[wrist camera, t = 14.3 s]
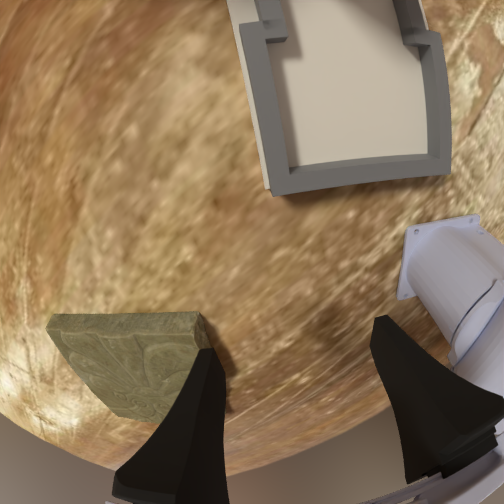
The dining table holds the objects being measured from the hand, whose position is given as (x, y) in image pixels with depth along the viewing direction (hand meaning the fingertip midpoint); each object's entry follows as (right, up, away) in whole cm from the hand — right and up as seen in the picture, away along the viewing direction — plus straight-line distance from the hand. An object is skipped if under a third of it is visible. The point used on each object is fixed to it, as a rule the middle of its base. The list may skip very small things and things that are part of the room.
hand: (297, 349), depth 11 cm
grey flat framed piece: (+4, +19, +1) cm, 20 cm away
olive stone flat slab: (-14, -10, +18) cm, 25 cm away
